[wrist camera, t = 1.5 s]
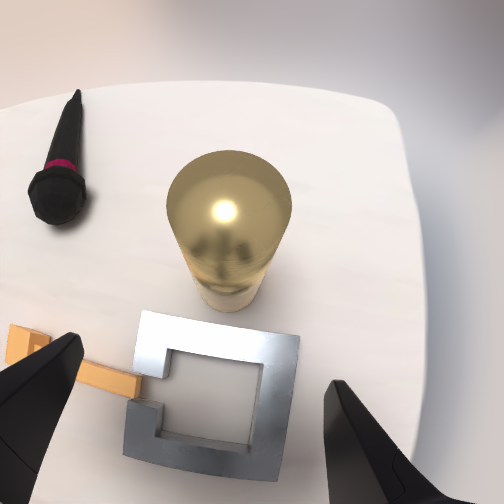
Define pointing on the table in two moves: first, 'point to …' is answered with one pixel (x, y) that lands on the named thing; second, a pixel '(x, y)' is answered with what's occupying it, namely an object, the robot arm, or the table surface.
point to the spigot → (228, 223)
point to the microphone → (60, 171)
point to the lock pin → (89, 373)
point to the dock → (200, 449)
